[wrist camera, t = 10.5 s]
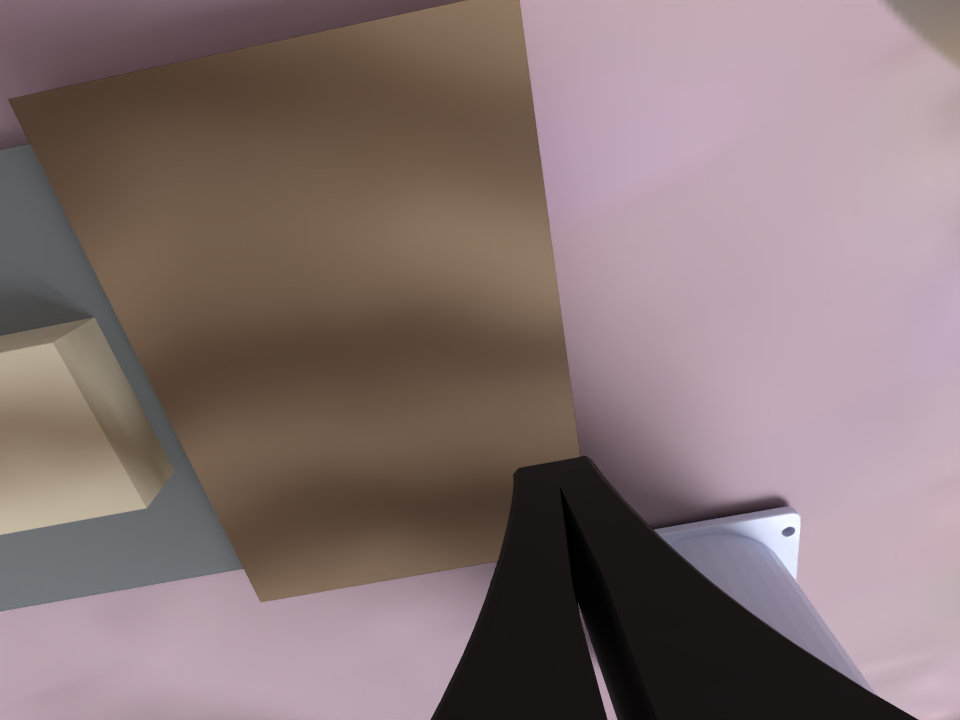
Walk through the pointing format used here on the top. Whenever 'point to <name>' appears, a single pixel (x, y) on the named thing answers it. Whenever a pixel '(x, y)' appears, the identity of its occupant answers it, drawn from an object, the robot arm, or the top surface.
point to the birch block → (71, 431)
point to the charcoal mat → (182, 500)
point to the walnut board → (333, 282)
